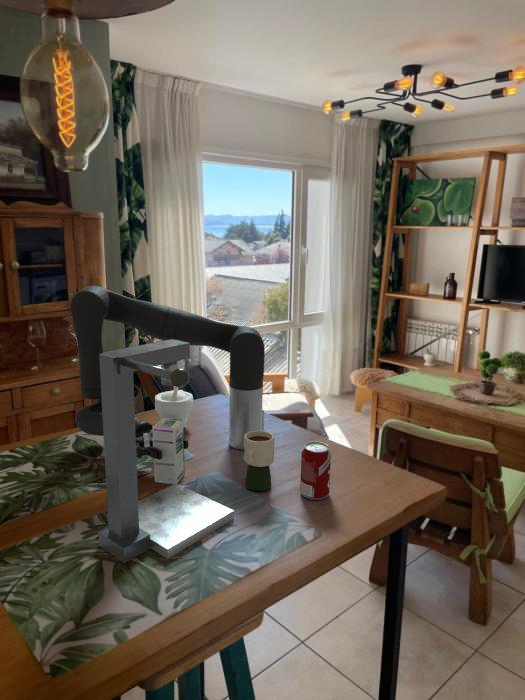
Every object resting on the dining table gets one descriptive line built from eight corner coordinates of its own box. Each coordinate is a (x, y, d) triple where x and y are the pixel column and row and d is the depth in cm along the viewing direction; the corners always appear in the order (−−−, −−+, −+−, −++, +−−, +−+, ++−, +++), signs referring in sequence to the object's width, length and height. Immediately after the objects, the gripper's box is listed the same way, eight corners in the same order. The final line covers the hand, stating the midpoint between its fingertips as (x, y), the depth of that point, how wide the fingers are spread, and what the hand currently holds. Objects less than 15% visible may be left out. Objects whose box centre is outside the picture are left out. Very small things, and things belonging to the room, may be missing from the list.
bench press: (176, 490, 120) (173, 328, 112) (267, 535, 104) (271, 348, 95) (84, 535, 102) (71, 345, 94) (175, 598, 86) (171, 374, 77)
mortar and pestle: (201, 425, 161) (200, 346, 155) (176, 437, 151) (174, 353, 145) (170, 416, 167) (169, 341, 162) (144, 427, 158) (141, 347, 152)
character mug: (254, 474, 129) (254, 425, 126) (280, 480, 127) (282, 430, 124) (234, 494, 120) (234, 441, 117) (262, 501, 117) (264, 447, 114)
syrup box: (176, 485, 123) (175, 428, 120) (153, 482, 124) (151, 425, 121) (185, 474, 129) (184, 419, 125) (162, 471, 130) (161, 417, 126)
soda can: (310, 504, 116) (312, 454, 113) (294, 491, 122) (296, 443, 119) (334, 498, 119) (337, 449, 116) (318, 485, 125) (320, 438, 122)
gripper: (107, 426, 127) (150, 444, 117) (153, 411, 138) (196, 426, 128) (108, 454, 129) (151, 474, 119) (154, 437, 140) (196, 455, 130)
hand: (174, 450), depth 123 cm, fingers closed on syrup box, 7 cm apart
